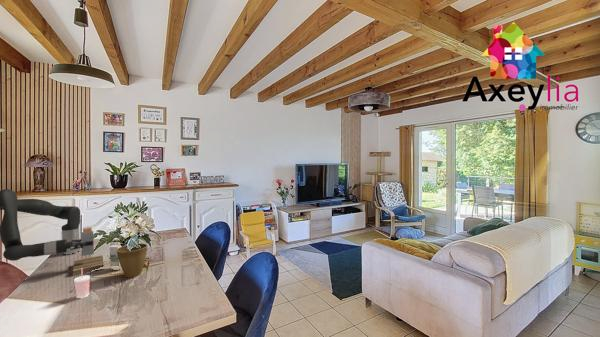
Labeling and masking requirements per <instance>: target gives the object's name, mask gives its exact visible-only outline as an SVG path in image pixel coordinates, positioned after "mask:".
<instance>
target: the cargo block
mask: <svg viewBox="0 0 600 337" xmlns="http://www.w3.org/2000/svg"><path fill="white" fill-rule="evenodd" d="M92 228H93V227H92V226H88V227H87V226H86V227H83V228H82V232H83V234H86V233H92V231H93V230H92Z"/></svg>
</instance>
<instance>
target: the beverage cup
mask: <svg viewBox="0 0 600 337" xmlns="http://www.w3.org/2000/svg"><path fill="white" fill-rule="evenodd" d="M90 279H91V275H90V274H89V275H88V274H86V275H84V274H83V269H82V268H81V275H79V276H77V277H76V278H74V280H73V282H74V285H75V286H74V287H75V293H76V294H75V295H76V299H77V298H81V299H85V298H87V297H88V295H89V296H90ZM84 297H85V298H84Z"/></svg>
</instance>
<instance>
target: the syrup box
mask: <svg viewBox="0 0 600 337" xmlns="http://www.w3.org/2000/svg"><path fill="white" fill-rule="evenodd" d="M120 244H121V243H115V244H113V245H110V246H109V258H110V260H109V262H110V267H111V266H120V263H119V259H118V255H117V249H118V248H120V247H122V246H121V245H120Z"/></svg>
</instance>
